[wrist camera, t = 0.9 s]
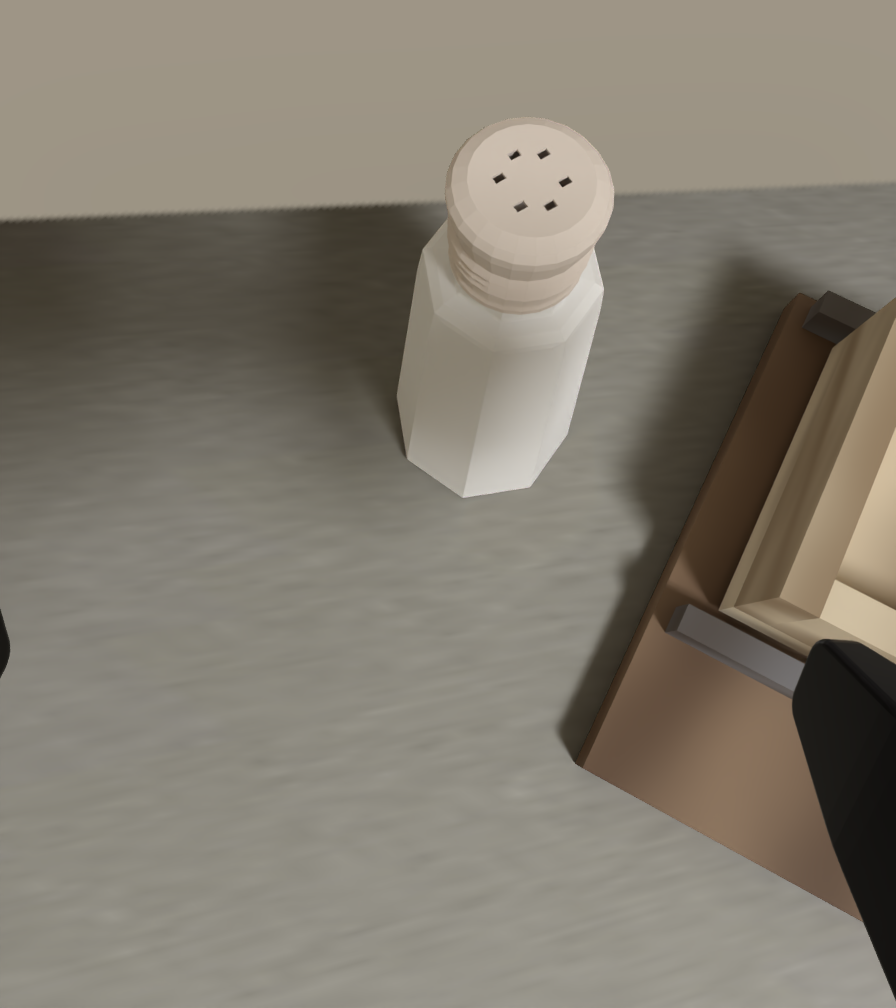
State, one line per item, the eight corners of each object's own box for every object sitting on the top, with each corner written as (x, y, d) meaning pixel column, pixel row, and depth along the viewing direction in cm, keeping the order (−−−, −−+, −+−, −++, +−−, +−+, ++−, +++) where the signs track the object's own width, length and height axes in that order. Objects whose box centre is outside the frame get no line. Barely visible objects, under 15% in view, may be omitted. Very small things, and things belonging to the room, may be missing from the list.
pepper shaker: (362, 390, 22) (302, 129, 12) (506, 308, 23) (575, -6, 12) (454, 534, 21) (481, 395, 11) (601, 444, 22) (765, 230, 11)
